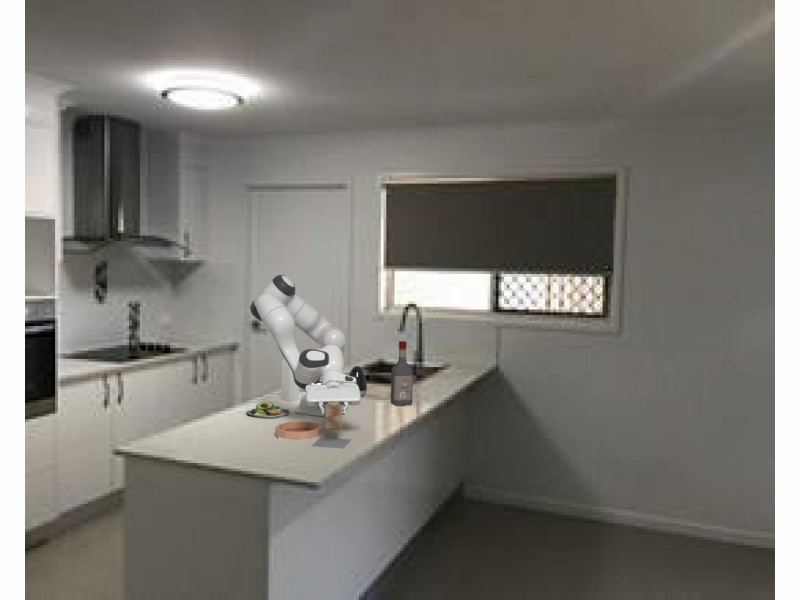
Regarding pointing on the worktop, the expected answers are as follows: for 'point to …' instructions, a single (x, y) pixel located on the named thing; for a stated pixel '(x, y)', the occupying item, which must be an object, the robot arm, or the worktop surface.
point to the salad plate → (267, 411)
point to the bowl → (298, 430)
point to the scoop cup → (333, 414)
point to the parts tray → (331, 442)
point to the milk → (288, 384)
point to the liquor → (401, 379)
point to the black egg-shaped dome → (359, 379)
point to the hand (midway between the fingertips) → (333, 414)
